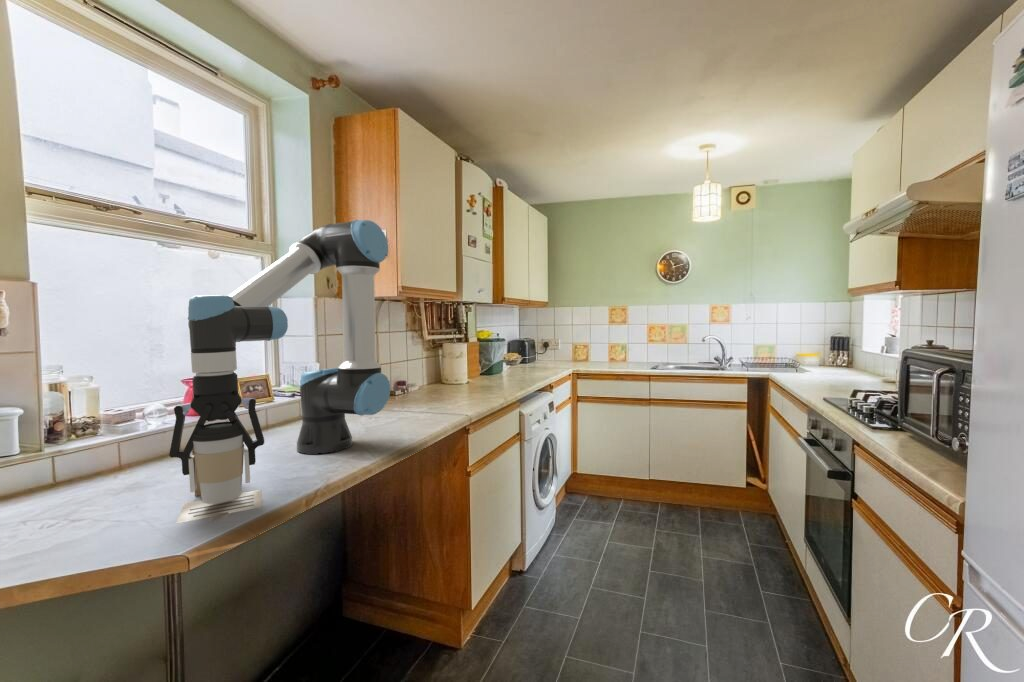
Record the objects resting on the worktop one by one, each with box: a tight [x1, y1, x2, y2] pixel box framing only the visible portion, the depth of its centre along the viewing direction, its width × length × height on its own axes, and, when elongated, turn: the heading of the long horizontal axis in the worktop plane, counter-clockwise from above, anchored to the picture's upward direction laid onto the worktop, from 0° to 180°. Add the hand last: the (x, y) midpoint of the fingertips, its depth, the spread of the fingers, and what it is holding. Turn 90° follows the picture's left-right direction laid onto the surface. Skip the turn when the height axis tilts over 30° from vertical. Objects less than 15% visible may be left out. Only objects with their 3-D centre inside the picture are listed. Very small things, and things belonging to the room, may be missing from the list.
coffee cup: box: [192, 421, 245, 504], centre depth 92 cm, size 9×9×15 cm
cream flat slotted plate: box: [175, 488, 263, 524], centre depth 92 cm, size 17×15×1 cm
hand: (221, 485), depth 92 cm, fingers closed on coffee cup, 8 cm apart
